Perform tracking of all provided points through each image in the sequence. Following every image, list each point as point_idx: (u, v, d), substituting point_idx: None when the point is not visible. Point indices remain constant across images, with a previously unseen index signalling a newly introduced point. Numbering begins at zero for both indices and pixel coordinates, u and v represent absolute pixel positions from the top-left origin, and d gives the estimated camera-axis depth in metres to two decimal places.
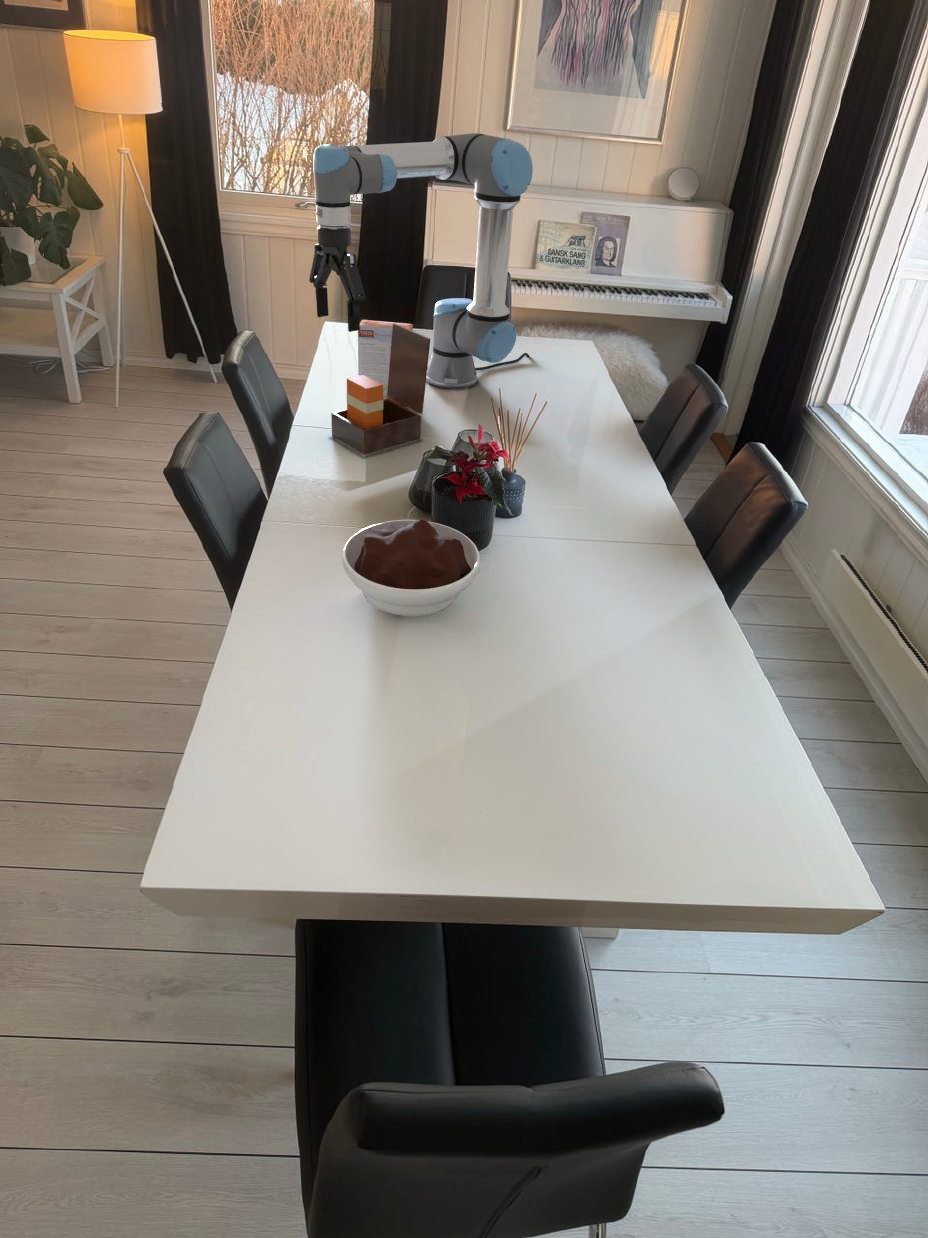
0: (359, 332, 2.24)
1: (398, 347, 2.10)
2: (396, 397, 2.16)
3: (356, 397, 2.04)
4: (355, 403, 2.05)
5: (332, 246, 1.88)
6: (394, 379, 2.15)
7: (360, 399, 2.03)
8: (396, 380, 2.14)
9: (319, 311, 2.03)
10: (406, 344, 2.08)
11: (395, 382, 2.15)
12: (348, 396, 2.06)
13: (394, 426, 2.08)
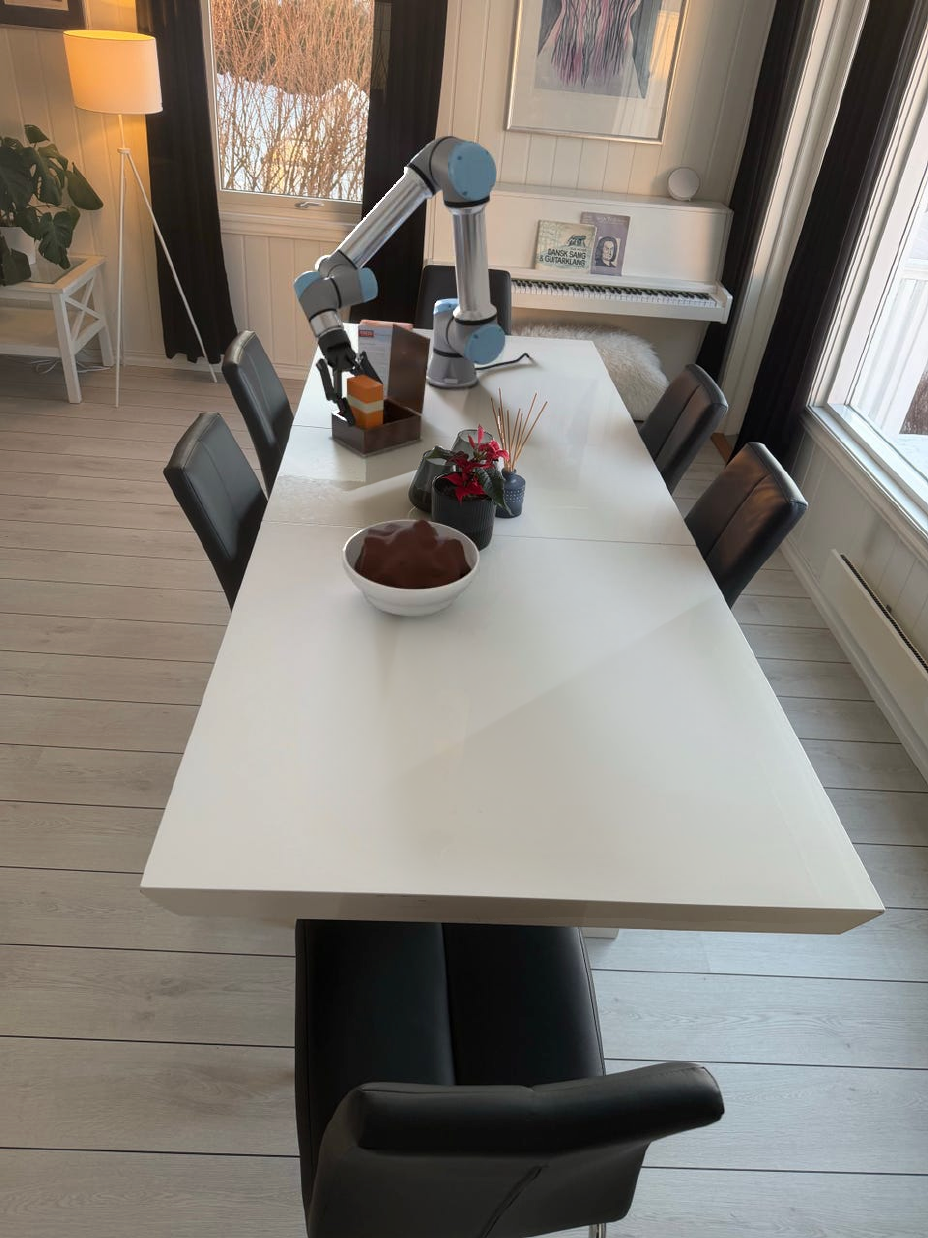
0: (359, 332, 2.24)
1: (398, 347, 2.10)
2: (396, 397, 2.16)
3: (356, 397, 2.04)
4: (355, 403, 2.05)
5: (323, 355, 2.07)
6: (394, 379, 2.15)
7: (360, 399, 2.03)
8: (396, 380, 2.14)
9: None
10: (406, 344, 2.08)
11: (395, 382, 2.15)
12: (348, 396, 2.06)
13: (394, 426, 2.08)
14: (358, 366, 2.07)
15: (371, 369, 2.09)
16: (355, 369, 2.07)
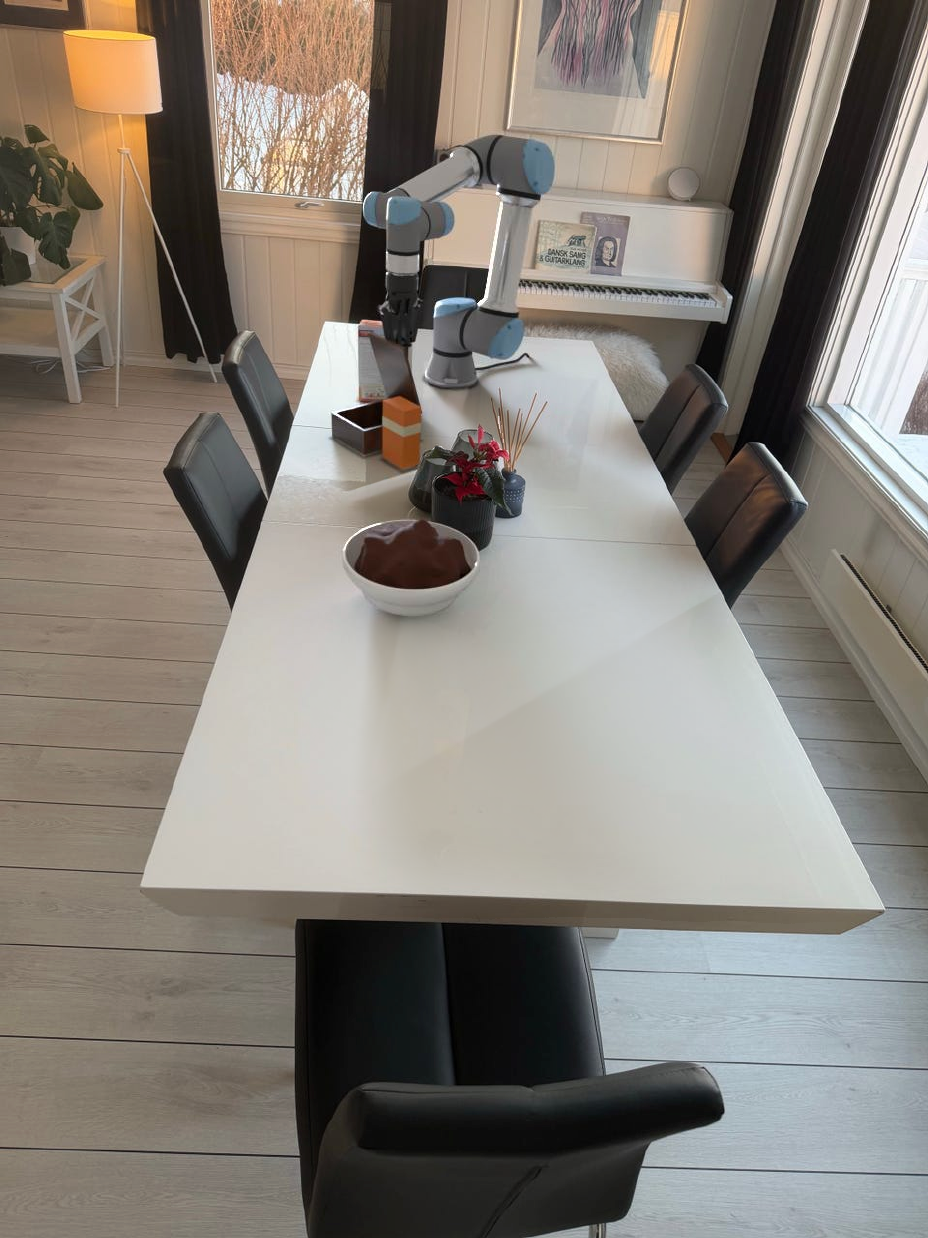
0: (359, 332, 2.24)
1: (380, 354, 2.08)
2: None
3: (393, 420, 1.96)
4: (391, 426, 1.98)
5: None
6: (387, 383, 2.14)
7: (397, 422, 1.95)
8: (389, 383, 2.13)
9: None
10: (386, 352, 2.05)
11: (389, 385, 2.14)
12: (384, 418, 1.99)
13: None
14: (409, 316, 2.01)
15: (417, 322, 2.04)
16: (405, 316, 2.01)
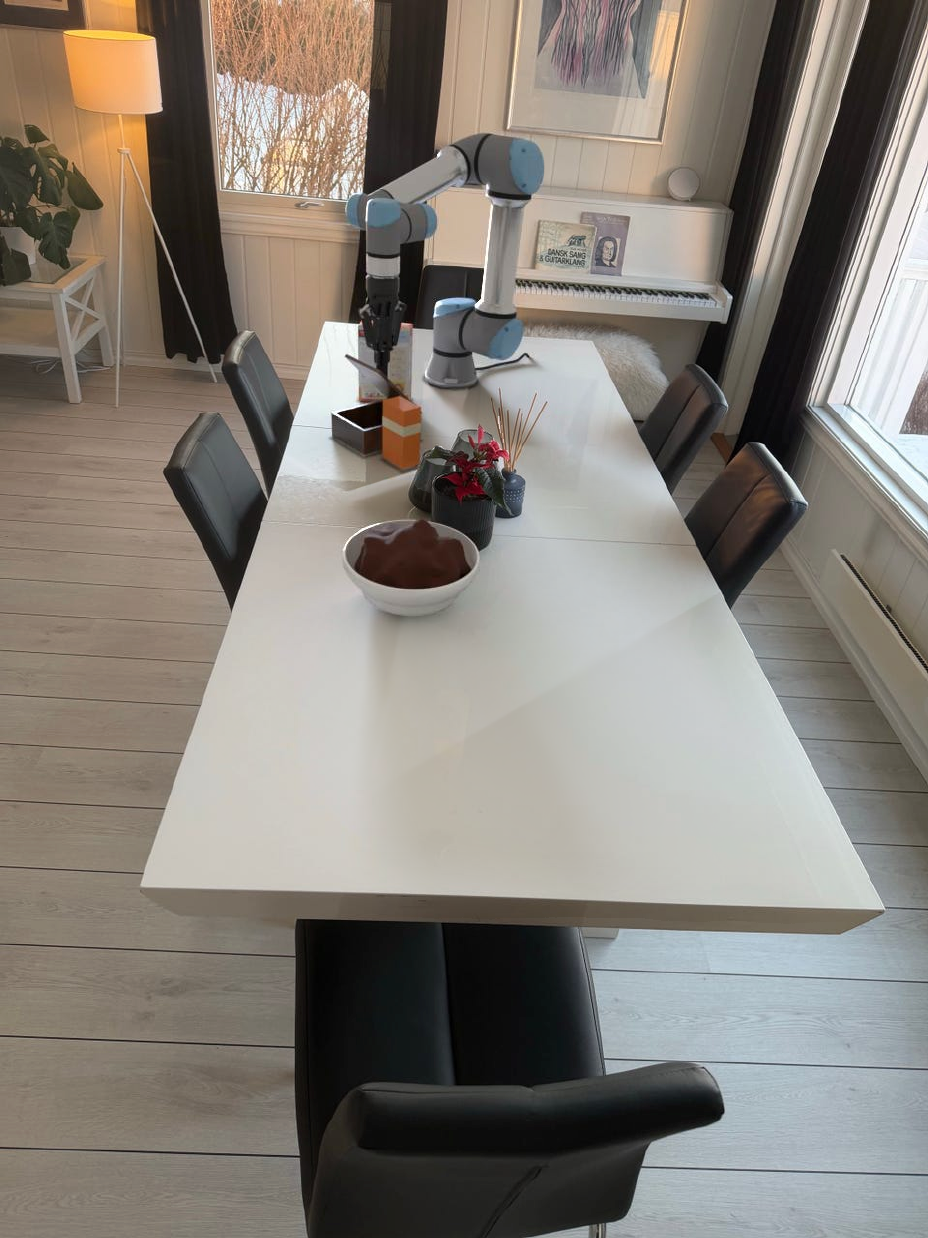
0: (359, 332, 2.24)
1: (363, 371, 2.07)
2: None
3: (393, 420, 1.96)
4: (391, 426, 1.98)
5: None
6: (381, 389, 2.14)
7: (397, 422, 1.95)
8: (383, 390, 2.13)
9: None
10: (367, 371, 2.04)
11: (384, 391, 2.14)
12: (384, 418, 1.99)
13: None
14: (391, 319, 1.98)
15: (398, 325, 2.01)
16: (386, 319, 1.98)
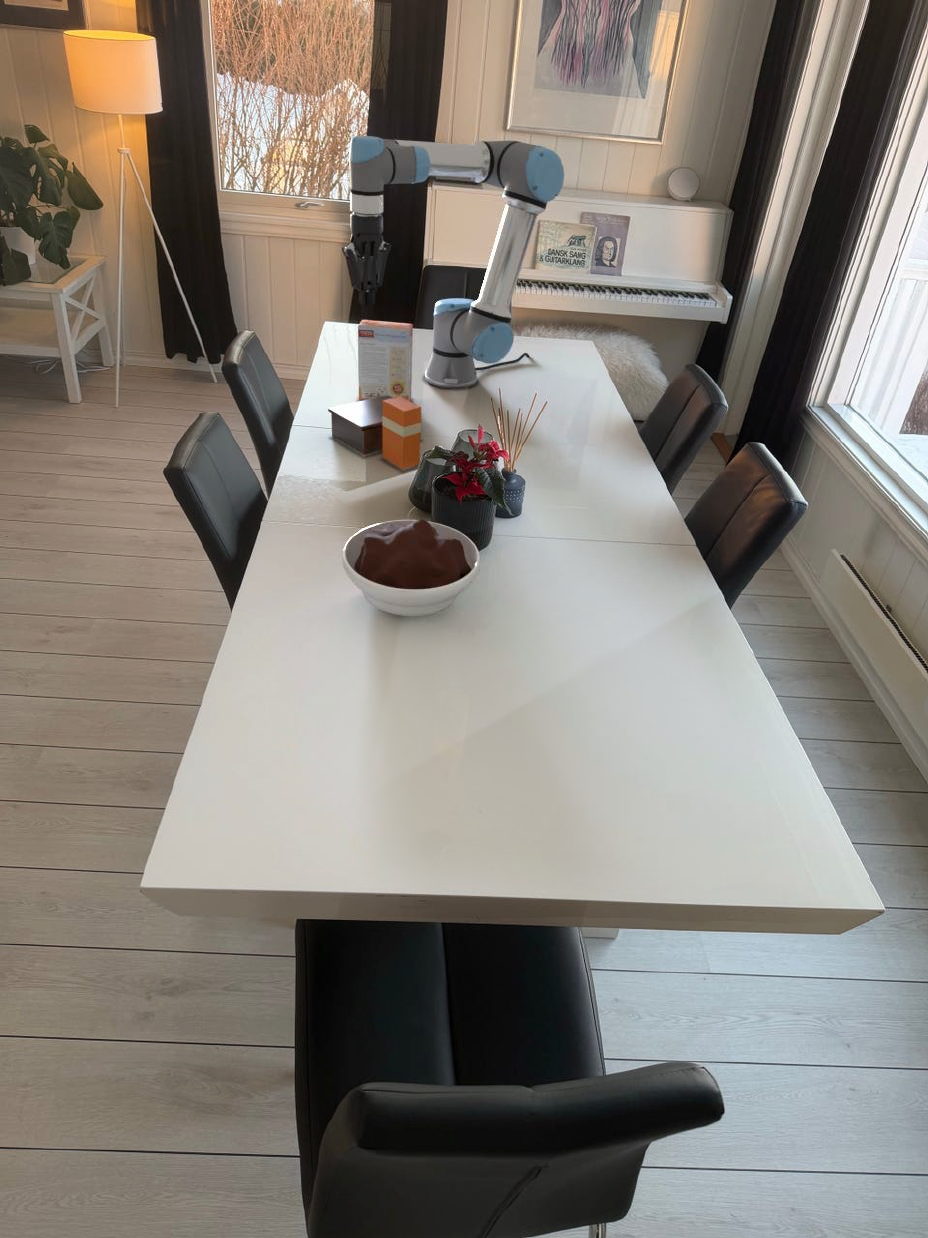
0: (359, 332, 2.24)
1: None
2: None
3: (393, 420, 1.96)
4: (391, 426, 1.98)
5: None
6: None
7: (397, 422, 1.95)
8: None
9: None
10: None
11: None
12: (384, 418, 1.99)
13: None
14: (375, 259, 2.01)
15: (383, 265, 2.04)
16: (371, 259, 2.02)
